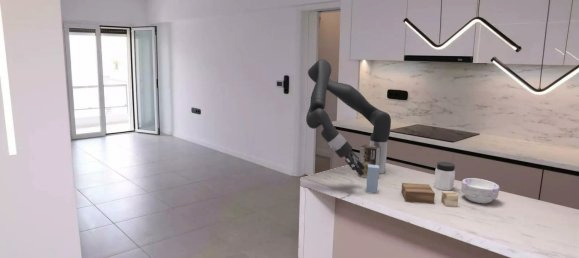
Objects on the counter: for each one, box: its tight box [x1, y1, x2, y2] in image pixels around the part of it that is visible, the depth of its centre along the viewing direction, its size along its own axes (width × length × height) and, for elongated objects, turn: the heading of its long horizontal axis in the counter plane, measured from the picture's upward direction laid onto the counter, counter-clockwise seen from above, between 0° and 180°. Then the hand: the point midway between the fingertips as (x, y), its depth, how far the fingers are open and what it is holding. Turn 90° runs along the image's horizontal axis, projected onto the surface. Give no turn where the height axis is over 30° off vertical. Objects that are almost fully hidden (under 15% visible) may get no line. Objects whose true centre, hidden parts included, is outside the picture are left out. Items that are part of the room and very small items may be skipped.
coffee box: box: [358, 144, 381, 179], centre depth 208 cm, size 9×6×16 cm
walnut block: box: [400, 182, 436, 205], centre depth 179 cm, size 12×12×5 cm
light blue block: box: [365, 164, 380, 194], centre depth 186 cm, size 5×5×12 cm
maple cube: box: [440, 190, 459, 207], centre depth 173 cm, size 5×5×5 cm
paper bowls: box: [460, 177, 500, 204], centre depth 179 cm, size 15×15×8 cm
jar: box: [433, 161, 456, 191], centre depth 194 cm, size 9×8×12 cm
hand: (362, 171), depth 186 cm, fingers open, 8 cm apart
